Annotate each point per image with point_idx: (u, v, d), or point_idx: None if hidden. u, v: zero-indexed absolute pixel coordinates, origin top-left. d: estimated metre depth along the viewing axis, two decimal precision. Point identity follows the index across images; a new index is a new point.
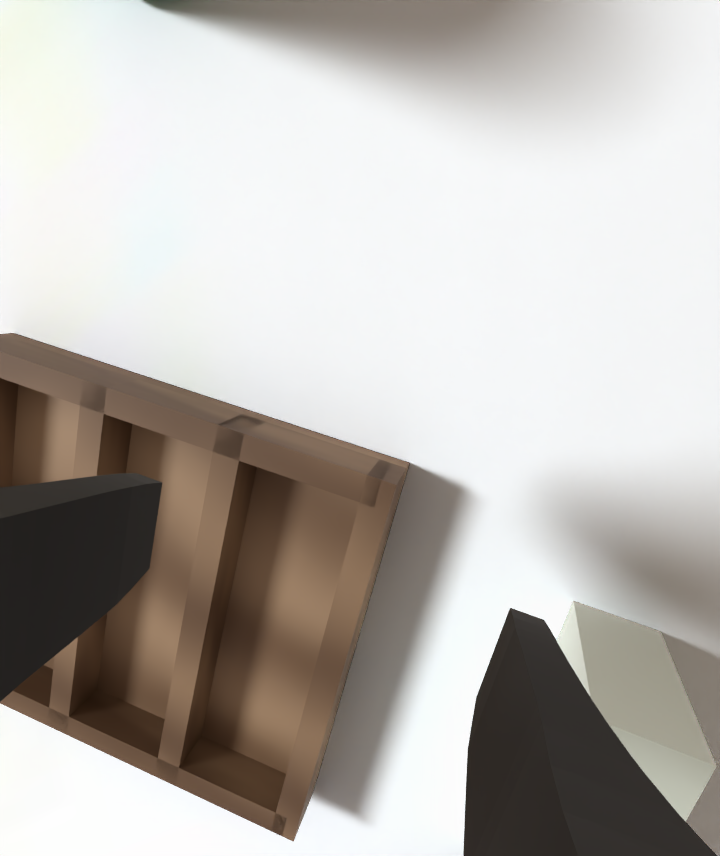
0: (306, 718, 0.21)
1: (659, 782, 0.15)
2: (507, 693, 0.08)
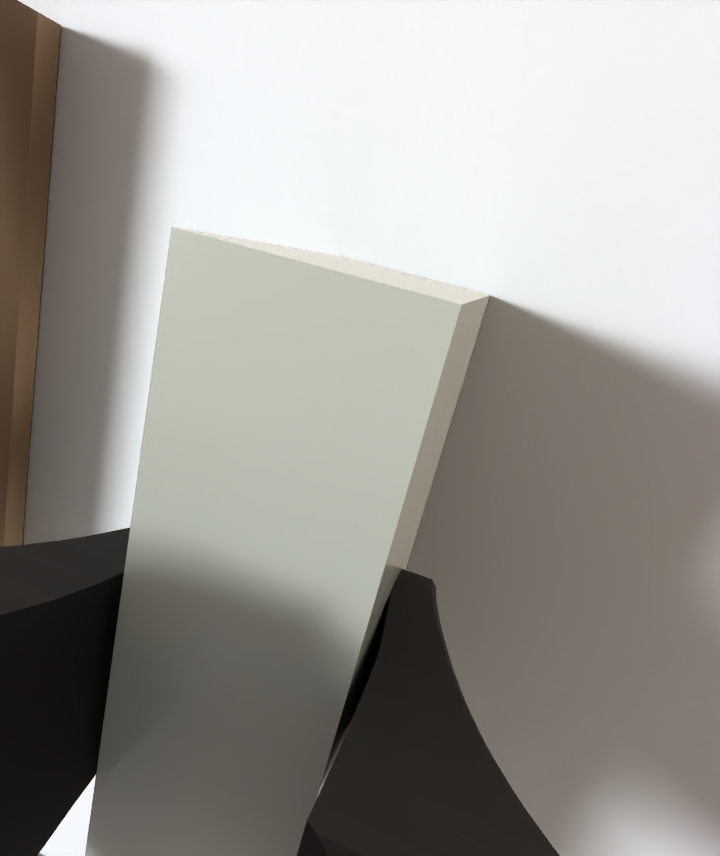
0: None
1: (334, 386, 0.06)
2: (377, 643, 0.09)
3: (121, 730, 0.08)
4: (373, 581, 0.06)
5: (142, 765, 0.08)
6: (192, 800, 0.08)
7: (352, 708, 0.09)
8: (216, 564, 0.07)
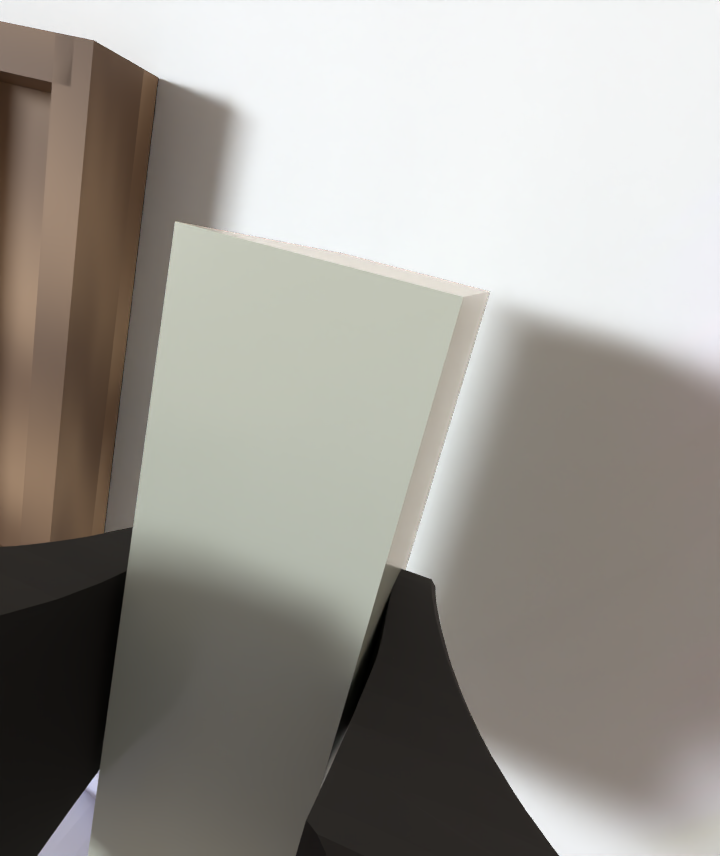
0: (32, 447, 0.16)
1: (337, 380, 0.06)
2: (376, 643, 0.09)
3: (124, 723, 0.08)
4: (375, 573, 0.06)
5: (146, 758, 0.08)
6: (196, 793, 0.08)
7: (354, 702, 0.09)
8: (220, 556, 0.07)
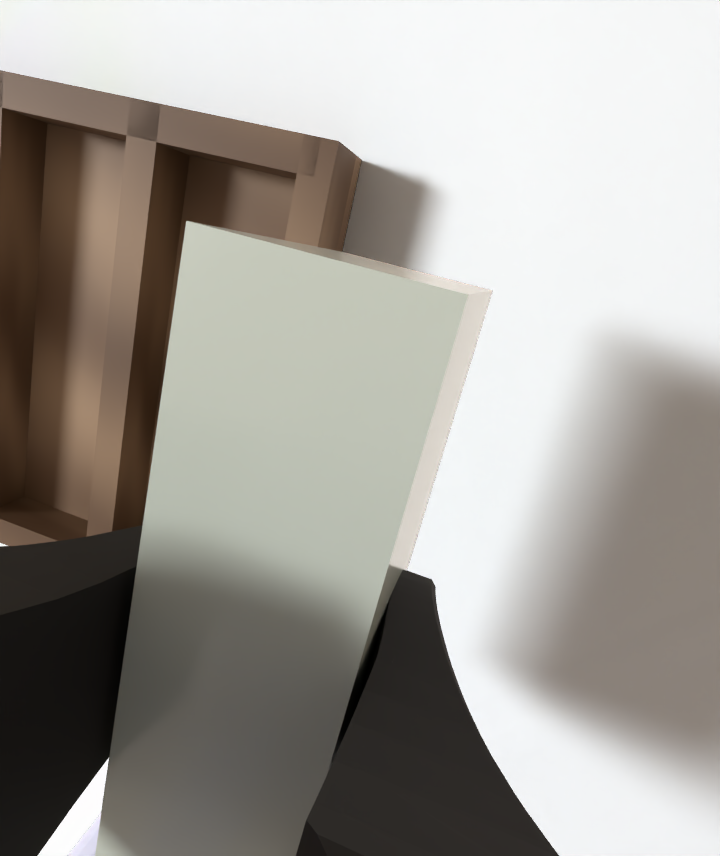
0: None
1: (344, 376, 0.06)
2: (377, 643, 0.09)
3: (134, 714, 0.08)
4: (381, 564, 0.06)
5: (154, 748, 0.08)
6: (204, 782, 0.08)
7: (359, 694, 0.09)
8: (228, 549, 0.07)
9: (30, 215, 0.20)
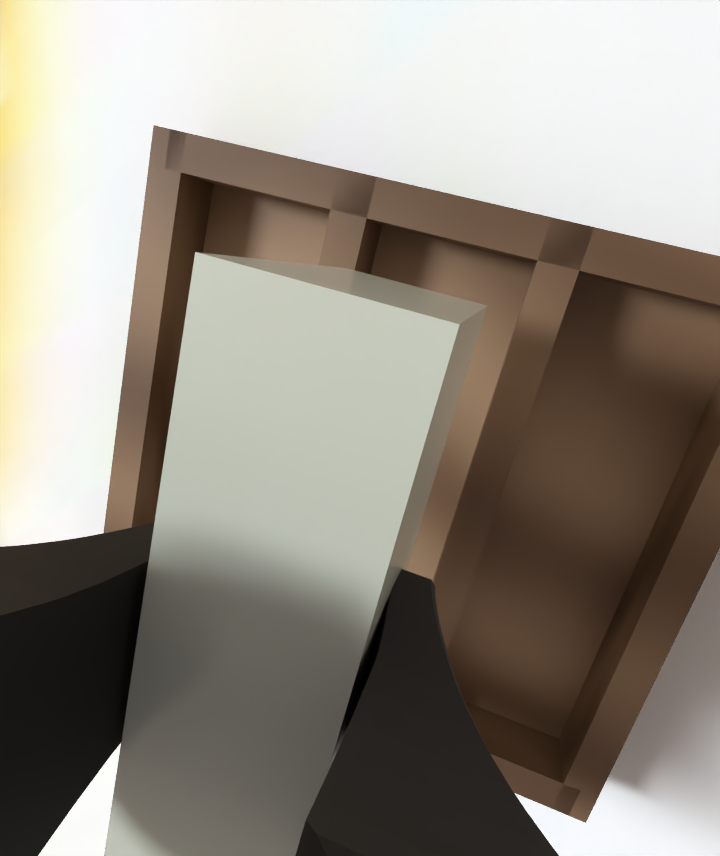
0: (633, 649, 0.15)
1: (343, 398, 0.06)
2: (377, 642, 0.09)
3: (143, 716, 0.08)
4: (378, 575, 0.07)
5: (163, 747, 0.08)
6: (210, 780, 0.08)
7: (358, 696, 0.09)
8: (235, 560, 0.07)
9: None
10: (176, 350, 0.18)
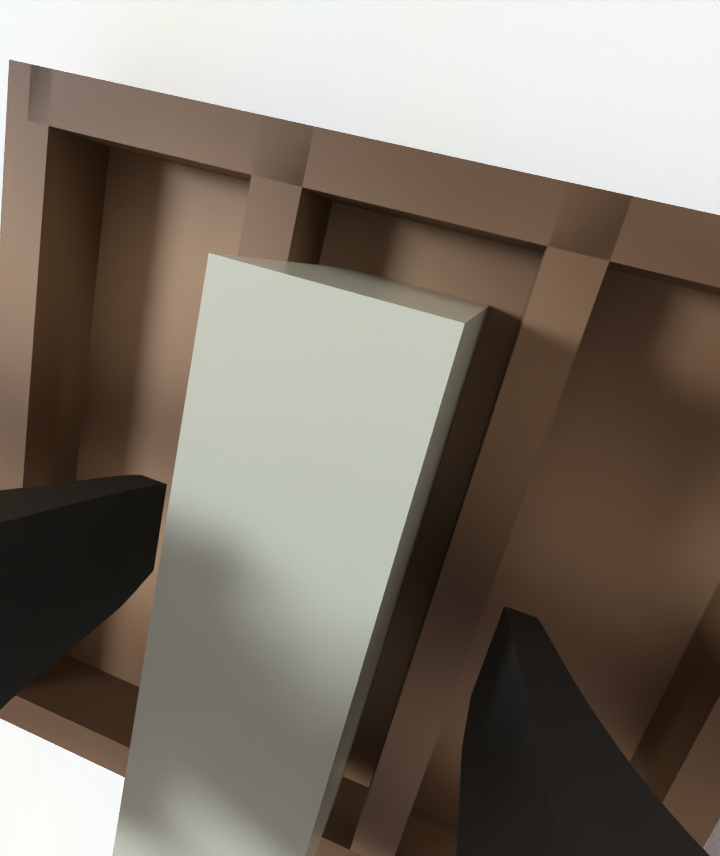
0: (680, 792, 0.11)
1: (352, 395, 0.06)
2: (500, 690, 0.08)
3: (154, 704, 0.08)
4: (385, 566, 0.07)
5: (173, 735, 0.08)
6: (219, 768, 0.08)
7: (362, 687, 0.09)
8: (244, 551, 0.07)
9: None
10: (68, 370, 0.14)
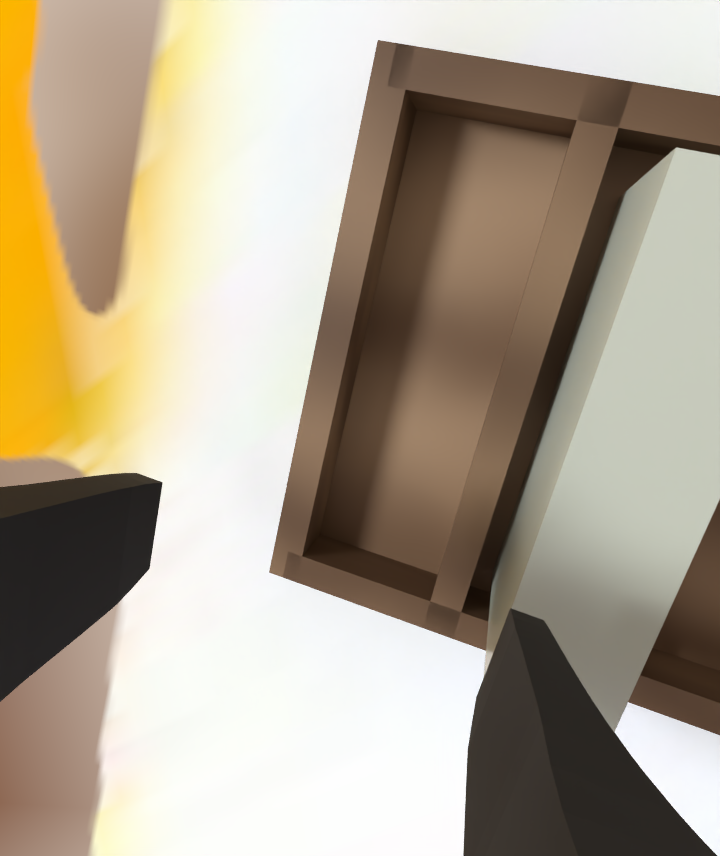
0: None
1: None
2: (507, 693, 0.08)
3: (572, 479, 0.12)
4: None
5: (584, 502, 0.12)
6: (620, 522, 0.12)
7: None
8: (669, 354, 0.11)
9: None
10: (370, 288, 0.17)
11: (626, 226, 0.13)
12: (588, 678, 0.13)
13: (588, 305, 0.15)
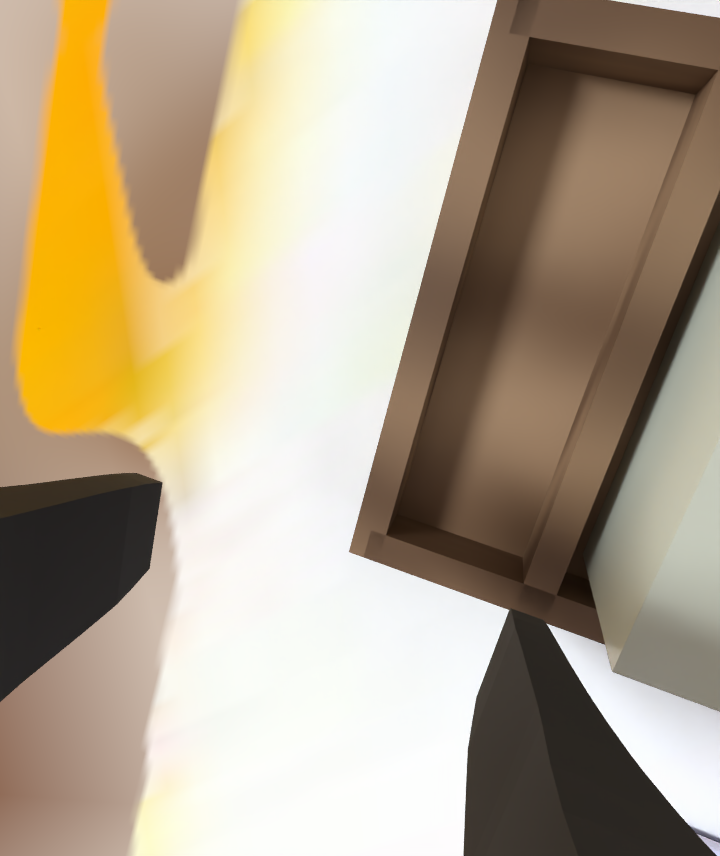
0: None
1: None
2: (507, 693, 0.08)
3: None
4: None
5: None
6: None
7: None
8: None
9: None
10: (470, 254, 0.17)
11: None
12: None
13: (714, 271, 0.15)
